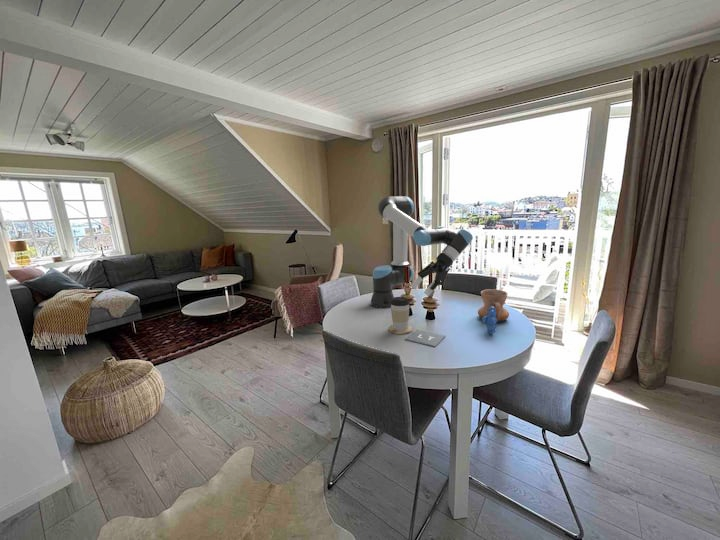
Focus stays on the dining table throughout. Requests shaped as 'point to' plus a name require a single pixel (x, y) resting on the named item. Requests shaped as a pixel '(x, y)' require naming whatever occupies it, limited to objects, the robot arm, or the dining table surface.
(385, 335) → the dining table surface
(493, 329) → the grapes
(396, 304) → the coffee cup
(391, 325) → the coaster
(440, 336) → the tile
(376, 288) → the robot arm
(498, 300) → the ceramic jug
